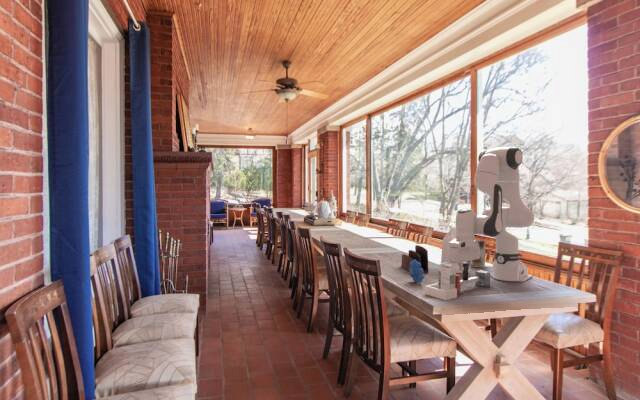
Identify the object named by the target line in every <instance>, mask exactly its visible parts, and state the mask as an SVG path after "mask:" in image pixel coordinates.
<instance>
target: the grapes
mask: <svg viewBox="0 0 640 400" xmlns="http://www.w3.org/2000/svg"><path fill="white" fill-rule="evenodd" d="M420 267H421V263H420V262H417V260H415V259H414V260H413V261H411V262H410V267H409V270H410V271H408V273H409V275H410V277H411V278H412V280H413V282H414V283H418V284H421V283H422V282H423V280H424V278H425V276H424V273H423V272H424V270H423V269H422V268H420Z"/></svg>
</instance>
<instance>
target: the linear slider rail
mask: <svg viewBox="0 0 640 400" xmlns="http://www.w3.org/2000/svg"><path fill="white" fill-rule="evenodd" d="M463 267H464V271H462V272H461V273H462V275H460V274H456V289H457V294H461V286H463V285H467V284H472V283H475V282H476V281H480V280H483V276H476V275H475V276H473V277H469V272H468V271H469V264H468V263H463ZM461 277H462V278H461Z"/></svg>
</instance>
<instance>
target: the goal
mask: <svg viewBox="0 0 640 400" xmlns="http://www.w3.org/2000/svg"><path fill="white" fill-rule="evenodd" d="M424 295H426V296H429V295H430V297H433V298H437V299H439V300H444V301H448V300H451V299H452V298H453V299H455V298H456V299H457V298H458V293H457V289H456V288H454V289H450V290H446V291H445V290H441V289H439V283H433V284H428V285H424Z"/></svg>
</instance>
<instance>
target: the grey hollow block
mask: <svg viewBox="0 0 640 400" xmlns="http://www.w3.org/2000/svg"><path fill="white" fill-rule="evenodd" d="M490 274H491V271H486V270H482V269H480V270H475V277H476V276H483V280H480V281H476V282H474V283H475V286H479V287H484V288H486V286H487V287H489V286H491V275H490Z"/></svg>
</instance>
